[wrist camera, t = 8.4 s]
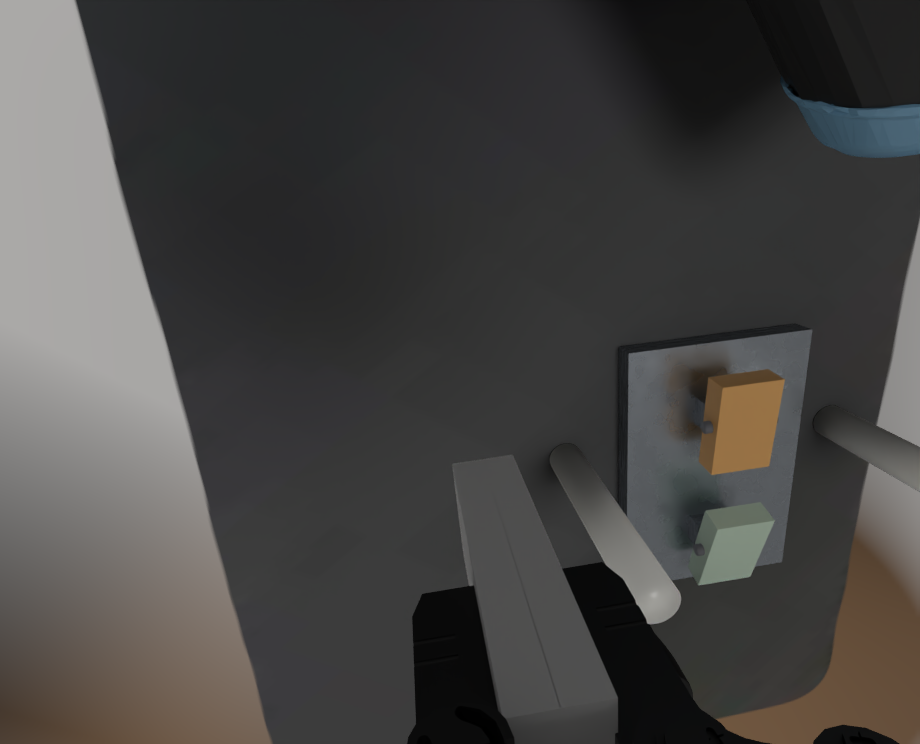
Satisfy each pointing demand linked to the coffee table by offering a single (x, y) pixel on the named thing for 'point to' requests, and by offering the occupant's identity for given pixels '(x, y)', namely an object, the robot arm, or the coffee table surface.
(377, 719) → the coffee table surface
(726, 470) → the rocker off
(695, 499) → the panel
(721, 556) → the rocker on
